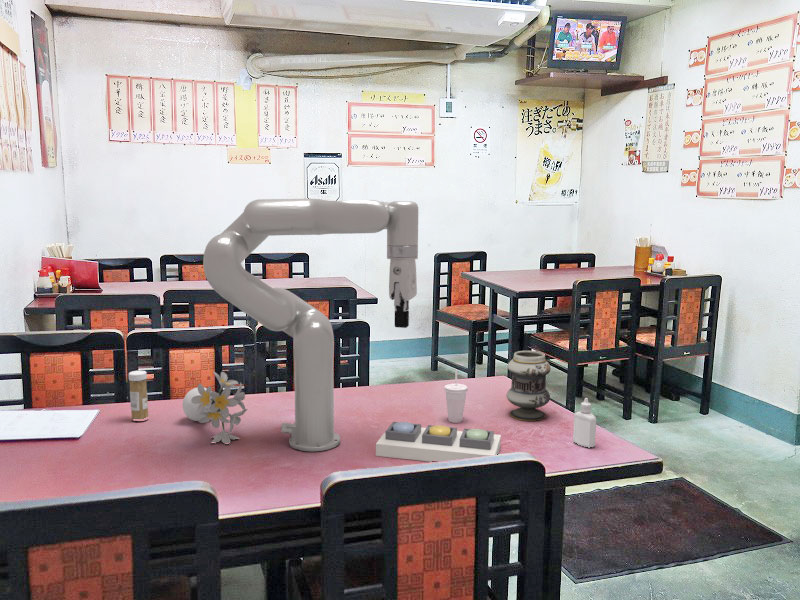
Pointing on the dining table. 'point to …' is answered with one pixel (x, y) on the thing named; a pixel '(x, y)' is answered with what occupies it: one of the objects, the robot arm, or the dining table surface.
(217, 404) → the flower vase
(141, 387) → the sprinkles bottle
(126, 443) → the dining table surface
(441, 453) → the button panel
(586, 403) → the eye dropper bottle
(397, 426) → the blue button
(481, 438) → the sage button
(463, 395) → the smoothie
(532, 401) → the apothecary jar
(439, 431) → the mustard button
